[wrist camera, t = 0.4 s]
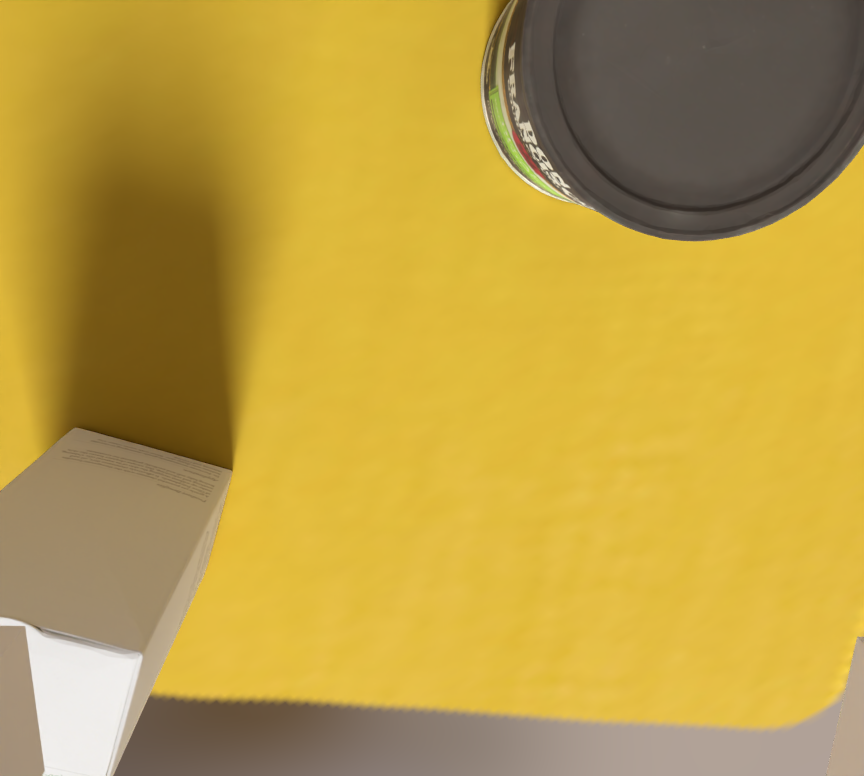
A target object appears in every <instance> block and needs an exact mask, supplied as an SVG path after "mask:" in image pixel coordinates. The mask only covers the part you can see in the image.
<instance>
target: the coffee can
mask: <svg viewBox="0 0 864 776" xmlns="http://www.w3.org/2000/svg"><path fill="white" fill-rule="evenodd" d="M481 99H482V107H483V112H484V117H485V121H486V124H487V127H488V130H489V133H490V135H491V137H492V140H493V142H494V144H495V146H496V148H497V149H498V151H499V153H500V155H501V157H502V158H503V159H504V160H505V162H506V163H507V164H508V166H509V167H510V168H511V169H512V170H513V171H514V172H515V173H516V174H517V175H518V176H519V177H520V178H521V179H523V180H524V181H525V182H526V183H528V184H529V185H531V186H532V187H534V188H535V189H537V190H539V191H540V192H542V193H544V194H546V195H548V196H551V197H554V198H556V199H559V200H563V201H566V202H570V203H575V204H578V205H581V206H584V207H587V208H589V209H592V210H594V211H597V212H599V213H601V214H602V215H604V216H606V217H607V218H609V219H611V220H613V221H615V222H617V223H619V224H621V225H623V226H625V227H627V228H630V229H633V230H635V231H638V232H641V233H644V234H647V235H651V236H655V237H659V238H662V239H670V240H680V241H708V240H717V239H723V238H729V237H734V236H739V235H742V234H746V233H749V232H752V231H755V230H758V229H760V228H763V227H765V226H768V225H770V224H773V223H775V222H777V221H778V220H780V219H782V218H784V217H786V216H788V215H789V214H791V213H793V212H794V211H796V210H798V209H799V208H801V207H802V206H804V205H806V204H807V203H808V202H810V201H811V200H812V199H813V198H815V197H816V196H817V195H818V194H820V193H821V192H822V191H823V190H824V189H825V188H826V187H827V186H829V185H830V184H831V183H832V182H833V181H834V180H835V179H836V178H837V177H838V176H839V175H840V174H841V173H842V171H843V170H844V169H845V168H846V167H847V166H848V164H849V163H850V162H851V161H852V160H853V159H854V158H855V156H856V155H857V153H858V152H859V150H860V149H861V148H862V146H863V145H864V0H511V1H510V2H509V3H508V5H507V6H506V8H505V9H504V11H503V12H502V14H501V15H500V17H499V19H498V21H497V23H496V24H495V26H494V29H493V31H492V33H491V36H490V38H489V41H488V44H487V47H486V51H485V55H484V59H483V63H482V71H481Z"/></svg>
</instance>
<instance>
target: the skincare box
mask: <svg viewBox="0 0 864 776" xmlns="http://www.w3.org/2000/svg"><path fill="white" fill-rule="evenodd" d="M231 476H232V471H231V470H229V469H225V468H221V467H218V466H214V465H211V464H207V463H204V462H200V461H197V460H193V459H190V458H186V457H183V456H179V455H175V454H172V453H168V452H165V451H161V450H157V449H154V448H150V447H147V446H143V445H140V444H136V443H132V442H129V441H125V440H121V439H118V438H114V437H110V436H107V435H103V434H100V433H96V432H92V431H88V430H85V429H81V428H77V427H76V428H73V429H72V430H70V431H69V432H68V433H67V434H66V435H64V436H63V437H62V438H61V439H60V440H58V441H57V442H56V443H55V444H54V445H53V446H52V447H51V448H49V449H48V450H47V451H46V452H45V453H44V454H43V455H42V456H40V457H39V458H38V459H37V460H36V461H35V462H33V463H32V464H31V465H30V466H29V467H28V468H26V469H25V470H24V471H23V472H22V473H21V474H19V475H18V476H17V477H16V478H15V479H14V480H12V481H11V482H10V483H9V484H8V485H7V486H5V487H4V488H3V489H2V490H1V491H0V626H25V629H26V636H27V643H28V651H29V658H30V665H31V673H32V680H33V687H34V695H35V702H36V709H37V717H38V724H39V731H40V739H41V746H42V753H43V761H44V768H45V771H44V773H43V775H42V776H113V774H114V772H115V770H116V768H117V765H118V763H119V761H120V759H121V756H122V754H123V752H124V750H125V748H126V746H127V743H128V741H129V739H130V737H131V735H132V732H133V730H134V728H135V726H136V723H137V721H138V719H139V717H140V714H141V712H142V710H143V708H144V706H145V703H146V701H147V699H148V697H149V695H150V692H151V690H152V688H153V686H154V684H155V681H156V679H157V677H158V675H159V672H160V670H161V668H162V666H163V664H164V662H165V659H166V657H167V655H168V653H169V651H170V648H171V646H172V644H173V642H174V640H175V637H176V635H177V633H178V631H179V629H180V626H181V624H182V622H183V620H184V618H185V615H186V613H187V611H188V609H189V607H190V605H191V602H192V600H193V598H194V596H195V593H196V591H197V589H198V586H199V584H200V582H201V580H202V578H203V576H204V574H205V571H206V568H207V565H208V561H209V558H210V554H211V551H212V547H213V543H214V540H215V536H216V532H217V529H218V525H219V521H220V517H221V514H222V510H223V506H224V502H225V499H226V495H227V491H228V487H229V484H230V480H231Z"/></svg>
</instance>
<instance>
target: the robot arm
mask: <svg viewBox="0 0 864 776" xmlns="http://www.w3.org/2000/svg"><path fill="white" fill-rule="evenodd" d="M44 771H45V768H44V761H43V753H42V746H41V739H40V731H39V724H38V717H37V709H36V702H35V695H34V687H33V680H32V673H31V665H30V658H29V651H28V643H27V636H26V629H25V626H0V776H42V775H43V773H44ZM826 776H864V637H857V641H856V645H855V649H854V654H853V658H852V663H851V667H850V672H849V676H848V680H847V685H846V689H845V694H844V698H843V703H842V707H841V711H840V717H839V721H838V725H837V729H836V734H835V738H834V743H833V747H832V751H831V756H830V761H829V765H828V769H827V774H826Z"/></svg>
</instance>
